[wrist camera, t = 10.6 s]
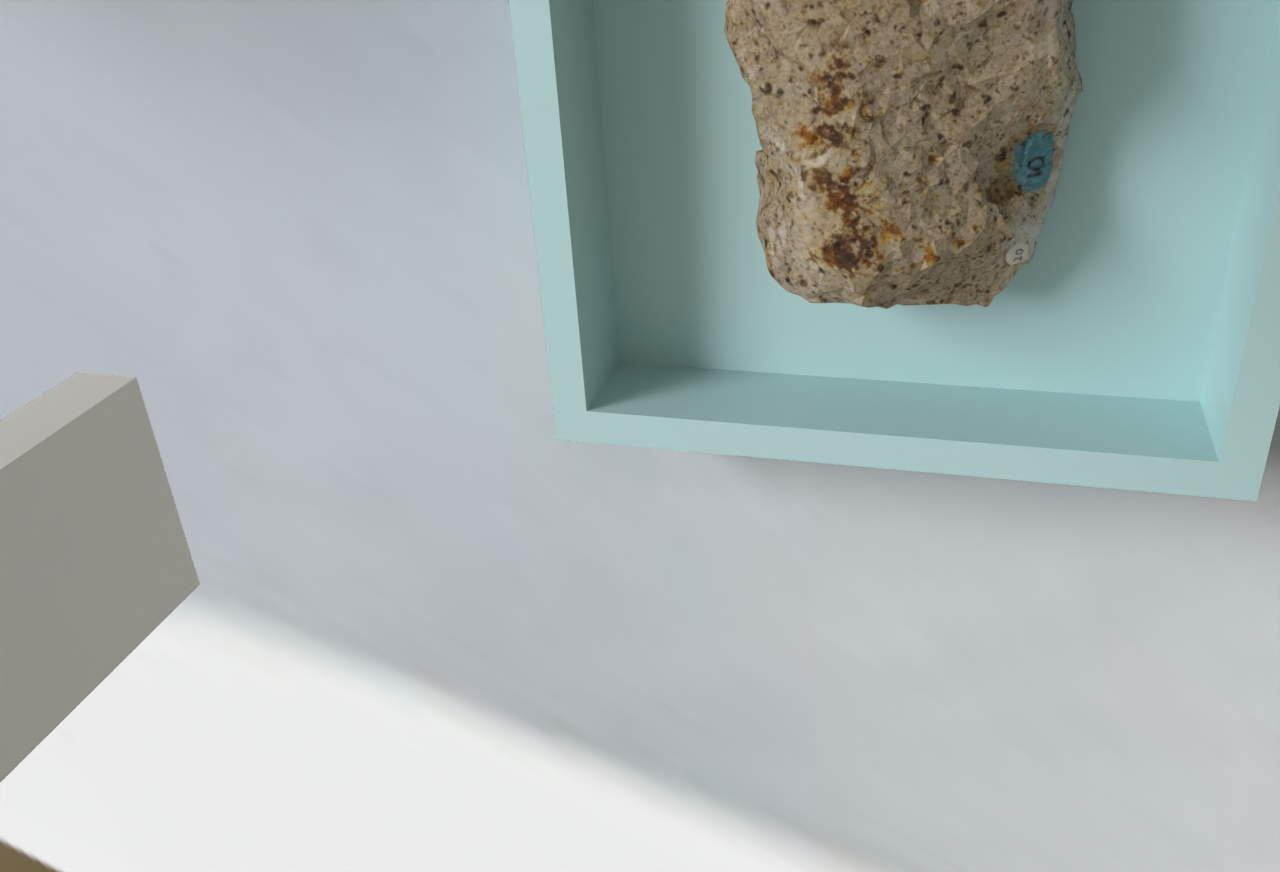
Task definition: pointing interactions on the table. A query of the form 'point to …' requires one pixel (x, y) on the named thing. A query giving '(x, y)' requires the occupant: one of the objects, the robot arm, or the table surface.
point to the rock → (905, 141)
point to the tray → (916, 334)
